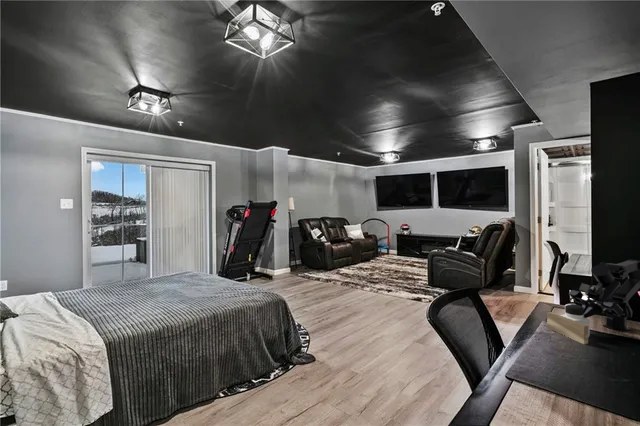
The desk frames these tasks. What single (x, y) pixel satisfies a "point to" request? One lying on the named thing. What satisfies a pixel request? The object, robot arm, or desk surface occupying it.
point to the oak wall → (568, 327)
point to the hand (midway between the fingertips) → (581, 317)
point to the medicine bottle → (576, 314)
